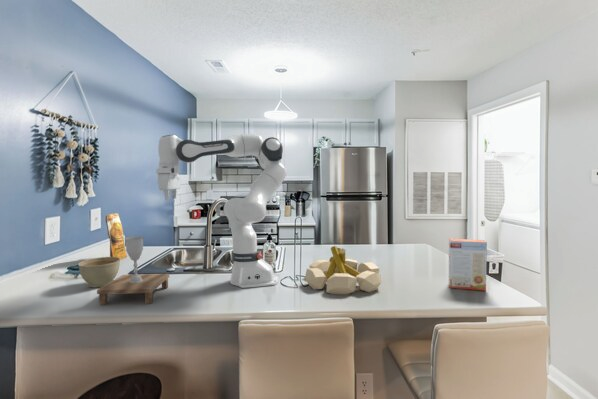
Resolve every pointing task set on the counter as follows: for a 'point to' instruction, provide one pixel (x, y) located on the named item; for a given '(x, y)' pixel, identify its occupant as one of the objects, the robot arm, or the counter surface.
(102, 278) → the planter bowl
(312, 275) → the campfire
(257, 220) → the robot arm
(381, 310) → the counter surface
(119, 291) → the stool
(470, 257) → the cracker box
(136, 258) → the chalice
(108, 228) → the pancake mix bag
